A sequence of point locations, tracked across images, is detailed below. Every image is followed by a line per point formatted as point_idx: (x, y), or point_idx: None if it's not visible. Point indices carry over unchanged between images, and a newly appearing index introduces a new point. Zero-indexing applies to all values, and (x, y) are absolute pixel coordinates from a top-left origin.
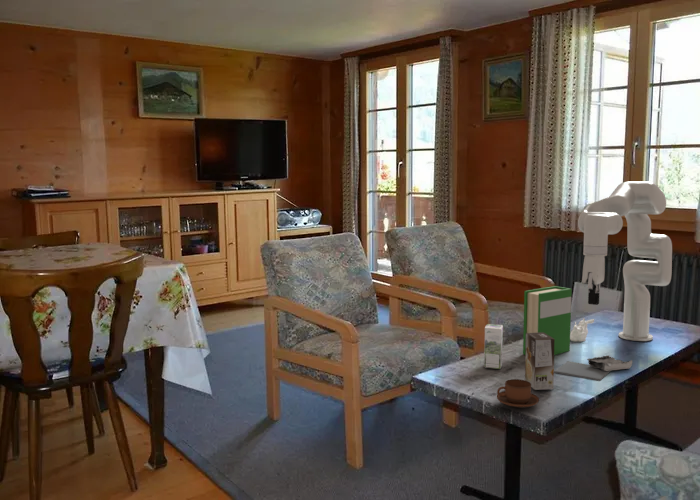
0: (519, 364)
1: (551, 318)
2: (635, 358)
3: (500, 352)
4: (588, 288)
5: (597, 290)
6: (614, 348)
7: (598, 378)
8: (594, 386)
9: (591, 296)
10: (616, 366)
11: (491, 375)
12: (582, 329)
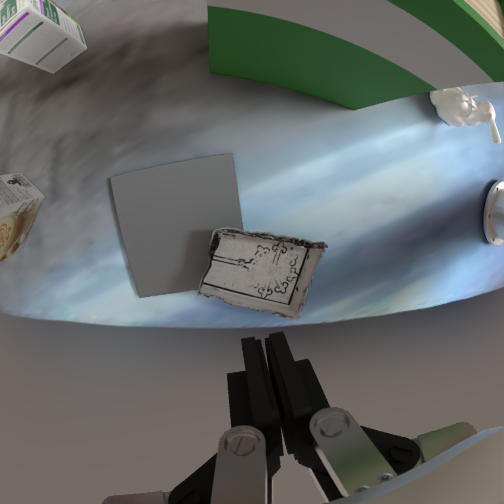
0: (118, 69)
1: (302, 31)
2: (387, 272)
3: (28, 63)
4: (110, 500)
5: (269, 485)
6: (436, 201)
7: (140, 293)
8: (98, 301)
9: (232, 416)
10: (242, 300)
11: (12, 99)
12: (468, 114)
